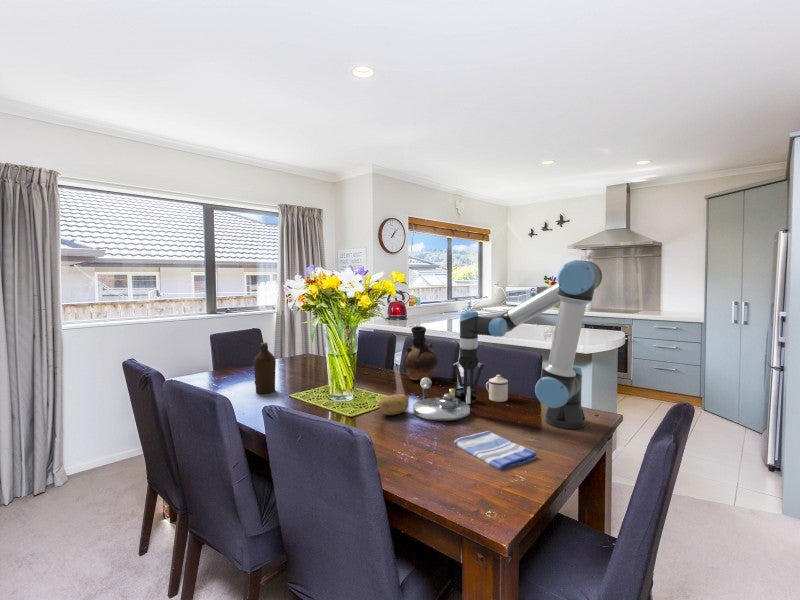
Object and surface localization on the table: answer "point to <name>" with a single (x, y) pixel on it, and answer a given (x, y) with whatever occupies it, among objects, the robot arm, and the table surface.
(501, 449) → the dish towel
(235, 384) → the table surface
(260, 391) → the olive oil
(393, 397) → the potato
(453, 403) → the cover
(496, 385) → the teacup with lid
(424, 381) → the dial stand
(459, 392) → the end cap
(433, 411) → the turntable
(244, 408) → the table surface
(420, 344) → the ceramic vessel
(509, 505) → the table surface
